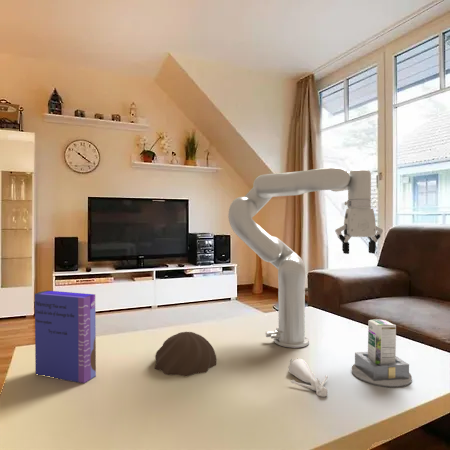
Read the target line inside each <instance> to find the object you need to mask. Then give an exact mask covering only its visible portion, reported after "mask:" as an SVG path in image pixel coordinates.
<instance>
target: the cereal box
mask: <svg viewBox="0 0 450 450" xmlns="http://www.w3.org/2000/svg"><path fill="white" fill-rule="evenodd" d="M96 325H97V324H96V294H93V293H84V292H83V293H81V292H72V291H71V292H68V291H59V290H58V291H56V290H44V291H43V290H42V291H38V292H36V293H34V336H35V337H34V339H35V340H34V342H35V343H34V344H35V349H34V351H35V354H34V355H35V364H34V365H35V375H36V374H38V375H37V376H39V375H45V376H50V377H54V378H53V379H55V378H58V379H57V380H60V379H62V380H61V381H67V382H72V383H76V384H77V383H78V384H82V385H84V384H85V385H86V384H87V383H88V382H89V381H91V380H93V379H95V378H96V377H97V374H96V373H97V364H96V363H97V361H96V360H97V359H96V355H97V354H96V352H97V351H96V347H97V346H96V345H97V343H96V336H97V335H96V334H97V333H96V332H97V331H96ZM50 377H49V378H50Z"/></svg>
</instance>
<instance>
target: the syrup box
mask: <svg viewBox="0 0 450 450" xmlns="http://www.w3.org/2000/svg"><path fill="white" fill-rule="evenodd" d="M367 322H368V326H367V327H368V328H367V329H368V331H367V332H368V333H367V335H368V337H367V352H368V359H370V360H371V361H372V362H374V363H375V364H386V363H395V358H396V357H397V356H396V355H397V354H396V352H397V351H396V348H397V347H396V346H397V342H396V341H397V325H396V324H395V323H394V324H393V323H391V322H389V321H388V320H386V319H370V320H368V321H367ZM395 356H396V357H395Z"/></svg>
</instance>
